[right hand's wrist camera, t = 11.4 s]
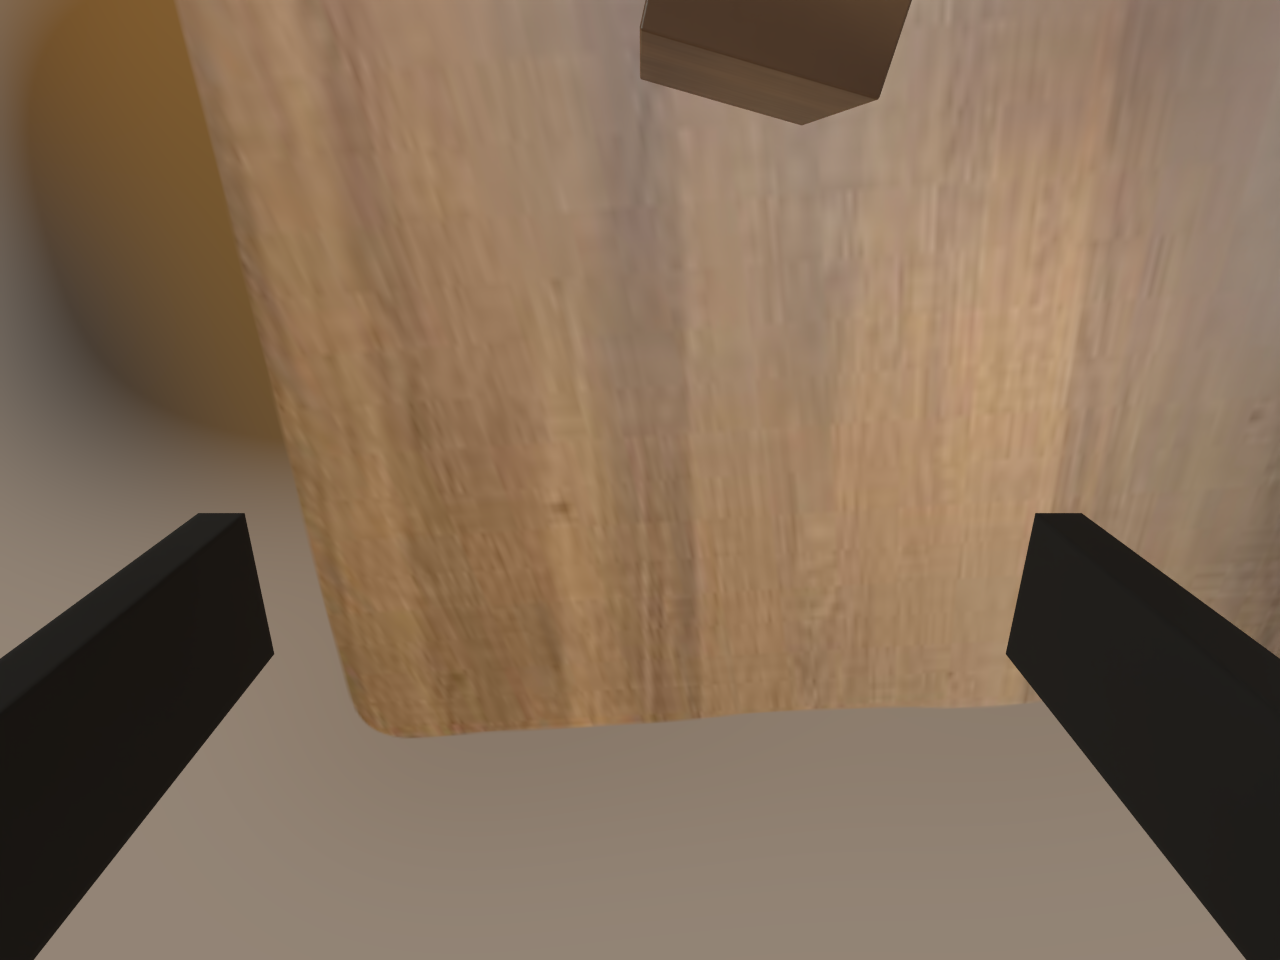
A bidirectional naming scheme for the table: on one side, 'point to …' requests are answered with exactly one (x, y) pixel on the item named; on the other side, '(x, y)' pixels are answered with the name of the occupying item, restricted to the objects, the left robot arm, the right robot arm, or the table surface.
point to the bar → (773, 52)
